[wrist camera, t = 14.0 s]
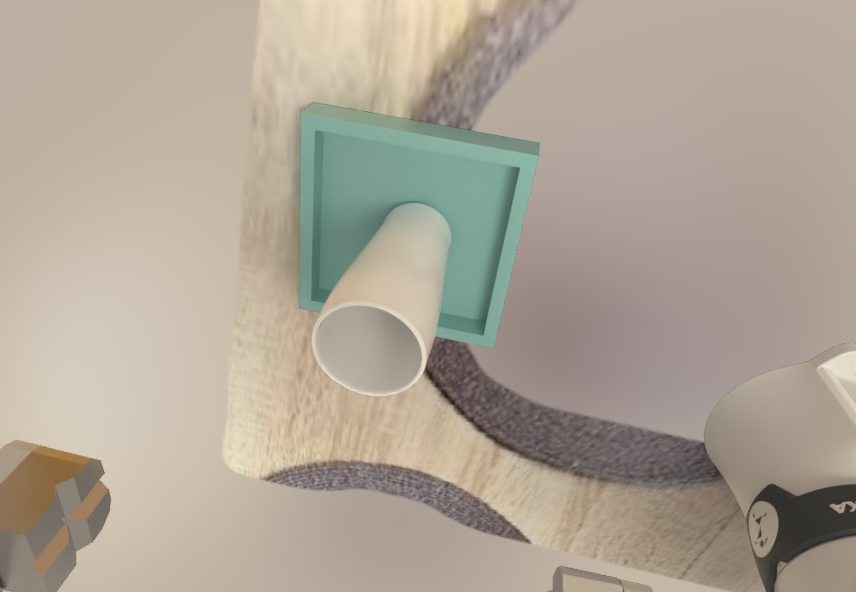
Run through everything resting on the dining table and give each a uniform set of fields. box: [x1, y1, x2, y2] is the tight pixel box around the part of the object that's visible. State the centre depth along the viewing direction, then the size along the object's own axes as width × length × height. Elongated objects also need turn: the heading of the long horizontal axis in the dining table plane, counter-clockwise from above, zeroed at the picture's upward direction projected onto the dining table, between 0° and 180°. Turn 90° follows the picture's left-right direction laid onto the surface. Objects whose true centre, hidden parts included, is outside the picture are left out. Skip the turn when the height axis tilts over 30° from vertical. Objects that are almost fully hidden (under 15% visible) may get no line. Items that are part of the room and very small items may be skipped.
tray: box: [299, 102, 539, 348], centre depth 46 cm, size 16×16×3 cm
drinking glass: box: [311, 203, 451, 396], centre depth 40 cm, size 7×7×15 cm
